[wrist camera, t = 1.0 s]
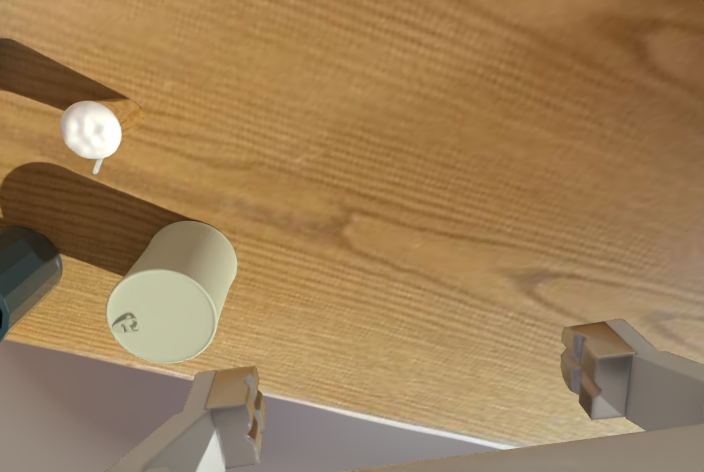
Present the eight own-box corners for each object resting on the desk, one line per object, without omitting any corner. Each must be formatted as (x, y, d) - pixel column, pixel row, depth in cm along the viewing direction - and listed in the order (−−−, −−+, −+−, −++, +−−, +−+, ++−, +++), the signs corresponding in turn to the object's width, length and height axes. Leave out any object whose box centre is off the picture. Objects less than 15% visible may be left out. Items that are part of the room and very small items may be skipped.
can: (133, 231, 52) (83, 285, 41) (221, 211, 52) (195, 259, 41) (165, 309, 56) (127, 378, 45) (248, 290, 56) (231, 354, 45)
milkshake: (112, 151, 49) (65, 179, 40) (93, 94, 47) (39, 109, 38) (159, 144, 49) (123, 169, 40) (142, 86, 47) (100, 99, 38)
